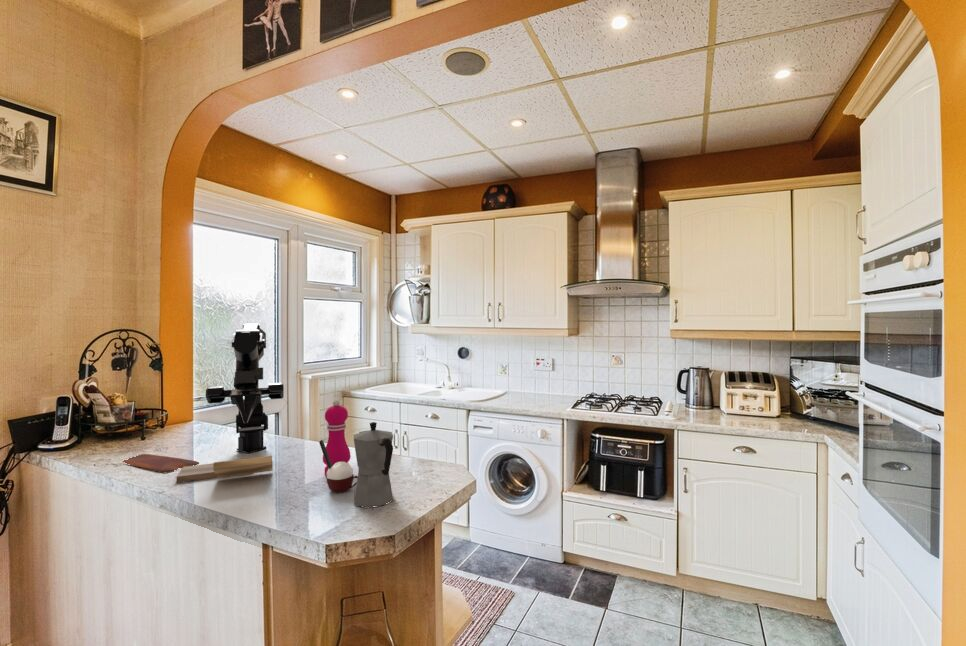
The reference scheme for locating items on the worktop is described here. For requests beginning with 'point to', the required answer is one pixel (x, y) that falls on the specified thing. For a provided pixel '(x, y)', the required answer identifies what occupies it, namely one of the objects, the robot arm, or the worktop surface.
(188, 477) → the weathered wooden board
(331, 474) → the cocoa
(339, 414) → the pepper mill
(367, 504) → the coffeepot
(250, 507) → the worktop surface
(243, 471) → the oak plank
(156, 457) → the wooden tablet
